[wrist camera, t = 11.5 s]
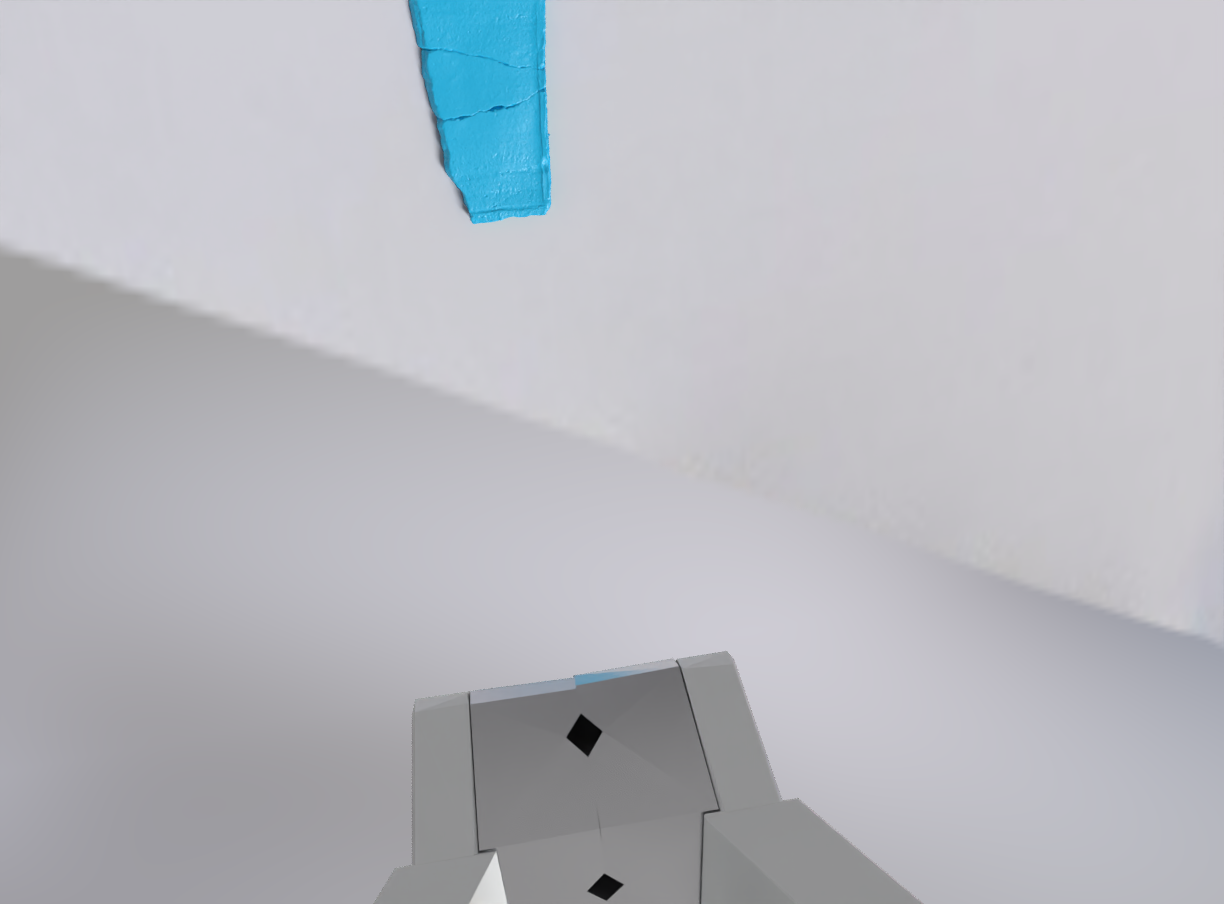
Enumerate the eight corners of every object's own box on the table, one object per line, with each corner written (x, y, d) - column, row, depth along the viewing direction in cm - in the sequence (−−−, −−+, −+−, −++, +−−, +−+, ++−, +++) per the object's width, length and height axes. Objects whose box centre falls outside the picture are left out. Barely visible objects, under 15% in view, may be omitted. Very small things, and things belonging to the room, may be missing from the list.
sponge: (426, 227, 45) (553, 226, 45) (392, -65, 37) (544, -65, 38) (429, 213, 46) (553, 212, 46) (397, -72, 39) (545, -72, 39)
